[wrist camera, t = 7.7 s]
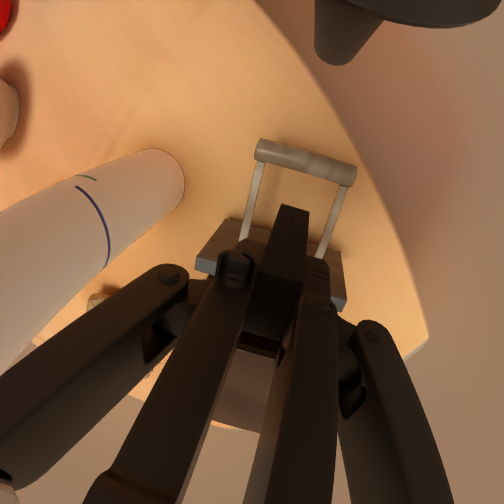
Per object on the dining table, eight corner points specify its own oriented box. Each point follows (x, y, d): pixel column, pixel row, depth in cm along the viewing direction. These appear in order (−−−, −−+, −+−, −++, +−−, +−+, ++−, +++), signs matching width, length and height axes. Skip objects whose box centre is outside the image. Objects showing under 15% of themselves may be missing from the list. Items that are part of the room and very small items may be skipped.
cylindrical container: (163, 227, 31) (-8, 409, 9) (116, 188, 29) (-74, 322, 8) (197, 176, 27) (-33, 370, 5) (144, 135, 26) (-103, 246, 4)
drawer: (244, 127, 23) (216, 134, 17) (372, 164, 23) (396, 187, 16) (207, 319, 34) (184, 367, 27) (297, 346, 34) (291, 398, 27)
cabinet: (211, 271, 32) (177, 329, 24) (321, 303, 31) (320, 370, 23) (198, 354, 39) (174, 407, 31) (284, 379, 38) (274, 436, 30)
